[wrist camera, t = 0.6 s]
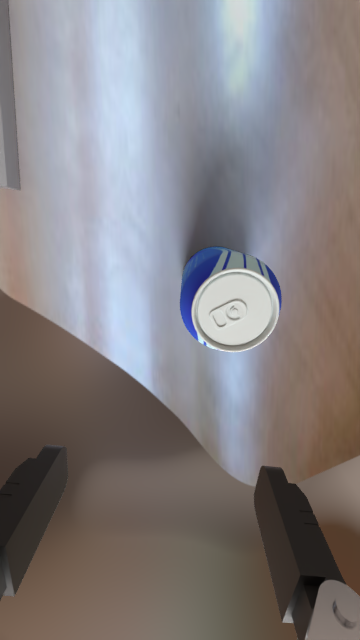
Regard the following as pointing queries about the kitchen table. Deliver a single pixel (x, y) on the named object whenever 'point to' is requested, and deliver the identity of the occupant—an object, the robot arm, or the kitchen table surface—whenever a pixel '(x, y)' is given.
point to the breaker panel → (7, 108)
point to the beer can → (229, 299)
